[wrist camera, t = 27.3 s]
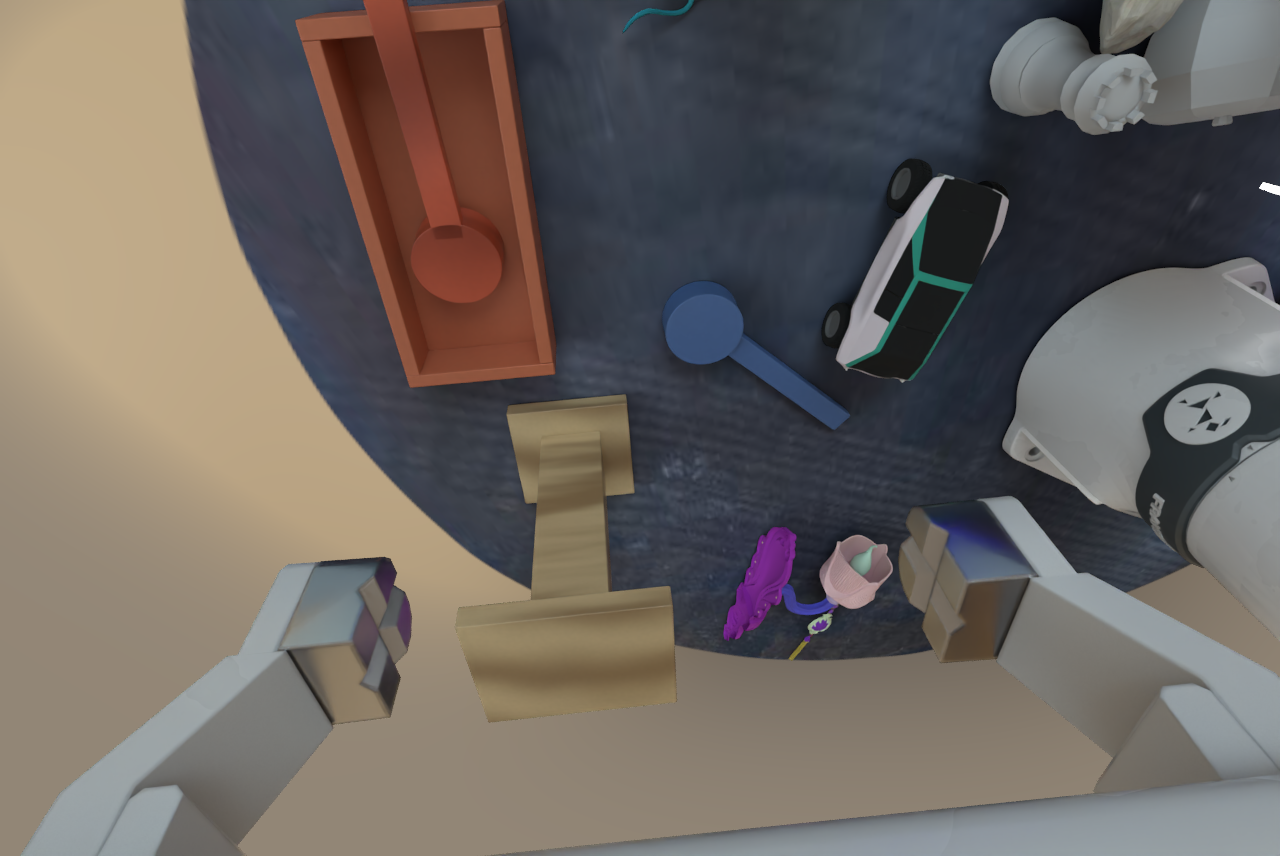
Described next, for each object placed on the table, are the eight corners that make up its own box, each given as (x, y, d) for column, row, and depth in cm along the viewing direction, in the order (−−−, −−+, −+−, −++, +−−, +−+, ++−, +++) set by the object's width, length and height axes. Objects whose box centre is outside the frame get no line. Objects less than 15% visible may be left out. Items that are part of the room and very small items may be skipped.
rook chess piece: (1048, 115, 36) (1144, 158, 30) (972, 108, 36) (1053, 150, 30) (1089, 20, 34) (1205, 46, 27) (1007, 11, 33) (1106, 35, 27)
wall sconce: (715, 688, 60) (800, 569, 47) (705, 628, 65) (780, 502, 51) (813, 689, 63) (922, 576, 49) (797, 631, 67) (894, 511, 53)
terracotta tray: (556, 345, 42) (555, 374, 39) (421, 357, 42) (409, 388, 39) (504, -1, 31) (497, 4, 28) (320, 13, 31) (294, 20, 28)
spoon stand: (492, 406, 45) (454, 628, 30) (640, 392, 45) (672, 605, 30) (513, 494, 49) (488, 723, 35) (646, 481, 50) (677, 702, 35)
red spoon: (433, -42, 26) (439, -51, 28) (311, -32, 26) (324, -41, 28) (510, 299, 37) (511, 280, 39) (424, 307, 37) (429, 288, 39)
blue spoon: (864, 394, 47) (874, 410, 45) (814, 439, 49) (822, 456, 47) (696, 265, 40) (701, 278, 38) (646, 323, 42) (649, 338, 40)
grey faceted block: (1179, 3, 36) (1165, 133, 38) (1102, -1, 32) (1092, 143, 34) (1394, -57, 29) (1364, 105, 31) (1328, -71, 26) (1298, 112, 28)
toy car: (813, 337, 43) (839, 380, 39) (902, 151, 37) (946, 178, 33) (892, 355, 45) (925, 398, 40) (991, 178, 38) (1044, 207, 34)
